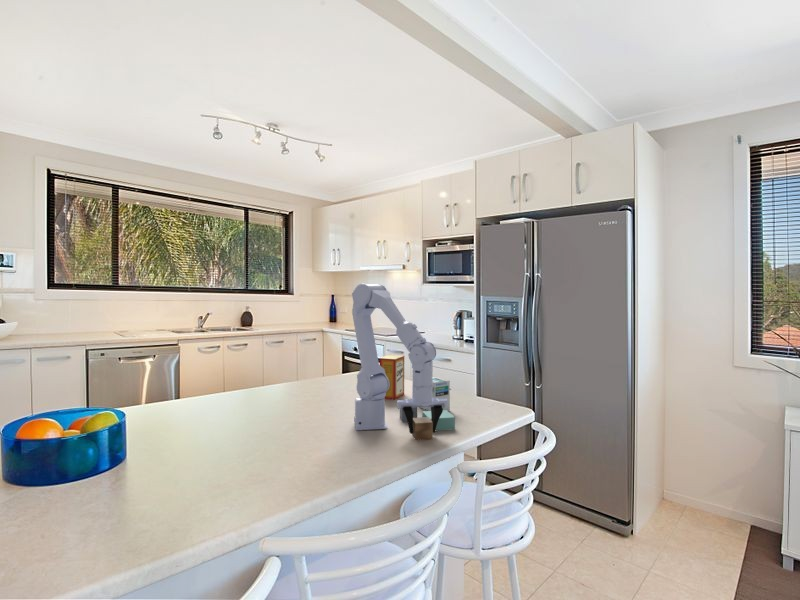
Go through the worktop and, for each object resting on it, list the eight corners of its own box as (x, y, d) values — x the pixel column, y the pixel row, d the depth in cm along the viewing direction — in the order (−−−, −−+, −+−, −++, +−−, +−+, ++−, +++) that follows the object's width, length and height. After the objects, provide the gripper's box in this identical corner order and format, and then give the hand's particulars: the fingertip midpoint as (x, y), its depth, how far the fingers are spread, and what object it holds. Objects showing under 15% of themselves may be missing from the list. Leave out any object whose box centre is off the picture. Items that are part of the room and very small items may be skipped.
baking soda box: (389, 392, 176) (389, 353, 175) (404, 394, 173) (404, 354, 173) (379, 398, 167) (379, 357, 167) (395, 399, 165) (395, 358, 164)
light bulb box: (450, 410, 150) (450, 380, 150) (435, 414, 146) (435, 382, 146) (431, 404, 159) (431, 375, 158) (416, 406, 155) (416, 377, 155)
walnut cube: (415, 440, 120) (415, 423, 120) (412, 434, 125) (412, 417, 125) (432, 439, 121) (432, 422, 121) (428, 434, 126) (428, 417, 126)
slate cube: (402, 422, 137) (402, 406, 137) (399, 417, 142) (399, 402, 142) (417, 421, 138) (417, 406, 138) (414, 417, 143) (414, 402, 143)
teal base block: (429, 432, 128) (429, 418, 128) (422, 423, 136) (422, 411, 136) (454, 430, 130) (454, 417, 130) (446, 422, 138) (446, 409, 138)
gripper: (399, 389, 118) (399, 438, 118) (450, 387, 120) (450, 435, 120) (395, 383, 125) (395, 429, 125) (444, 382, 127) (444, 427, 127)
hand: (422, 432), depth 123 cm, fingers open, 6 cm apart
